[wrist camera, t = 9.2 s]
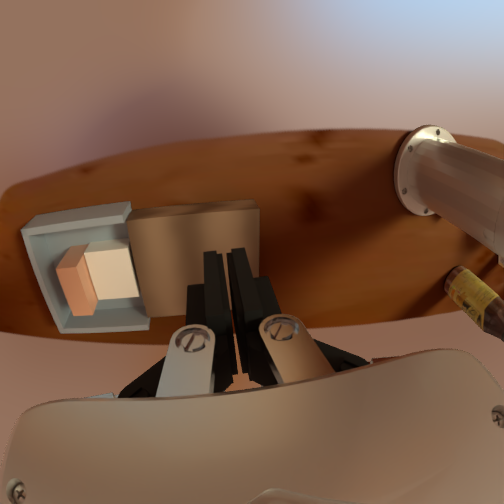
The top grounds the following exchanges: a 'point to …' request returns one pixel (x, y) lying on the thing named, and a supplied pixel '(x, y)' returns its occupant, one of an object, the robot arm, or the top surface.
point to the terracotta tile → (77, 281)
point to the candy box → (500, 261)
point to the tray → (54, 249)
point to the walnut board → (188, 247)
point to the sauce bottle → (476, 300)
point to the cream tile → (112, 269)
